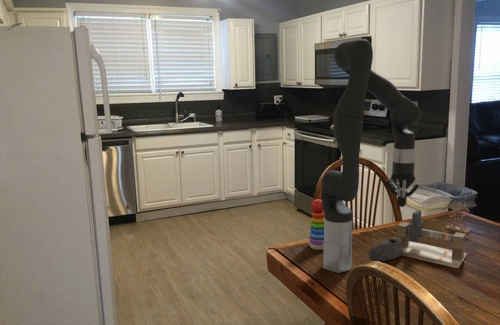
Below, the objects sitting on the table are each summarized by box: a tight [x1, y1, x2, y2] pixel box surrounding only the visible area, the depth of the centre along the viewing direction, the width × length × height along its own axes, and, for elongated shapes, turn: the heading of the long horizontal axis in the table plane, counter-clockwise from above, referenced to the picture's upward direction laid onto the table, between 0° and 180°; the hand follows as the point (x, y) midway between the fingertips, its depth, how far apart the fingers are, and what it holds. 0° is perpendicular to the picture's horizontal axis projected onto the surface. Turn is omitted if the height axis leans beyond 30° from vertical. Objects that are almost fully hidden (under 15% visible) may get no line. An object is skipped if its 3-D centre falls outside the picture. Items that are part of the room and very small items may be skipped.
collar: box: [409, 209, 424, 243], centre depth 155 cm, size 6×3×10 cm, turn 141°
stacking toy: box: [308, 198, 324, 251], centre depth 162 cm, size 8×8×19 cm
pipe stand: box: [396, 221, 468, 269], centre depth 153 cm, size 12×22×10 cm, turn 51°
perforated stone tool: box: [368, 237, 403, 263], centre depth 150 cm, size 15×5×7 cm, turn 113°
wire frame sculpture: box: [444, 202, 471, 235], centre depth 176 cm, size 9×4×12 cm, turn 38°
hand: (401, 206), depth 157 cm, fingers closed
